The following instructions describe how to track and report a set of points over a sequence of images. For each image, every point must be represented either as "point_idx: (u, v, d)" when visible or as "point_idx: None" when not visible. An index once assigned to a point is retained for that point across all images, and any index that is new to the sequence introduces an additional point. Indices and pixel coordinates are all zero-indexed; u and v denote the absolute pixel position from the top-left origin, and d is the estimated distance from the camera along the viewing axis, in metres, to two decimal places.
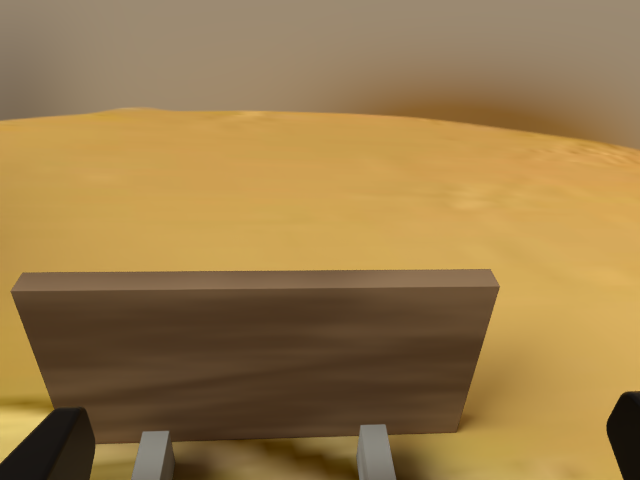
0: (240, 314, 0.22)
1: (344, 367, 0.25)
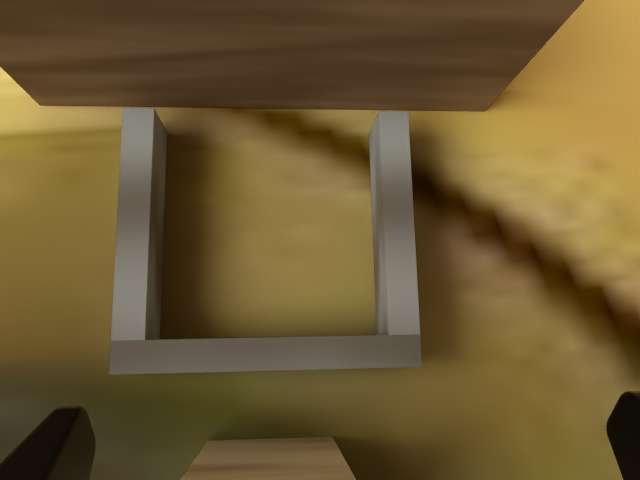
0: None
1: (368, 48, 0.19)
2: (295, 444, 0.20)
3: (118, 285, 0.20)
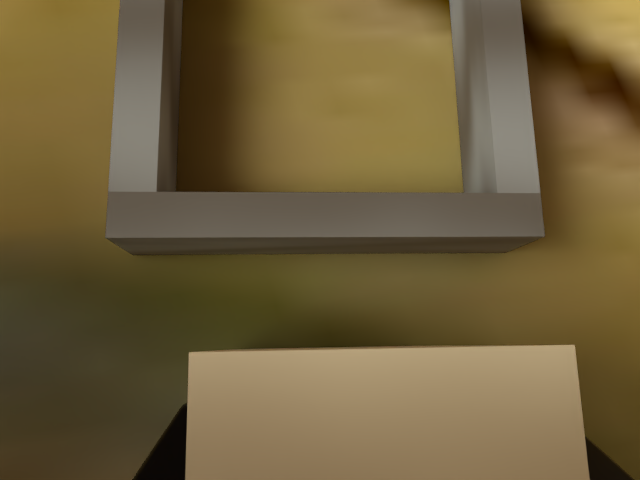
0: None
1: None
2: None
3: (119, 118, 0.14)
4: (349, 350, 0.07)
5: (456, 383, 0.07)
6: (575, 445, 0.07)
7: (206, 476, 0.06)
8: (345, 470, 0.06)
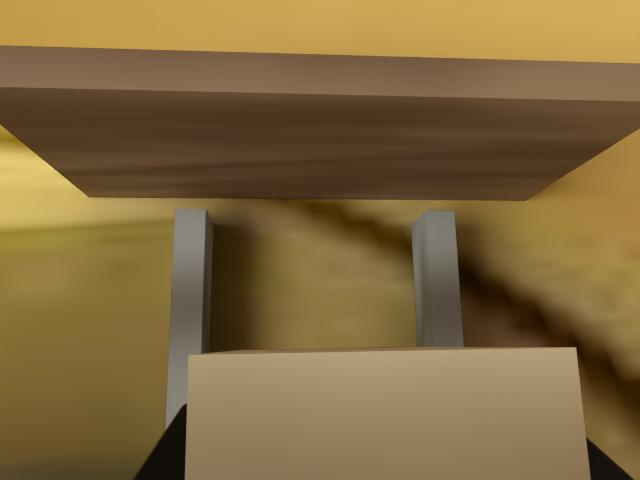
0: (297, 116, 0.16)
1: (421, 159, 0.19)
2: None
3: (171, 390, 0.20)
4: (349, 353, 0.07)
5: (457, 386, 0.07)
6: (577, 448, 0.07)
7: (206, 479, 0.06)
8: (346, 474, 0.06)
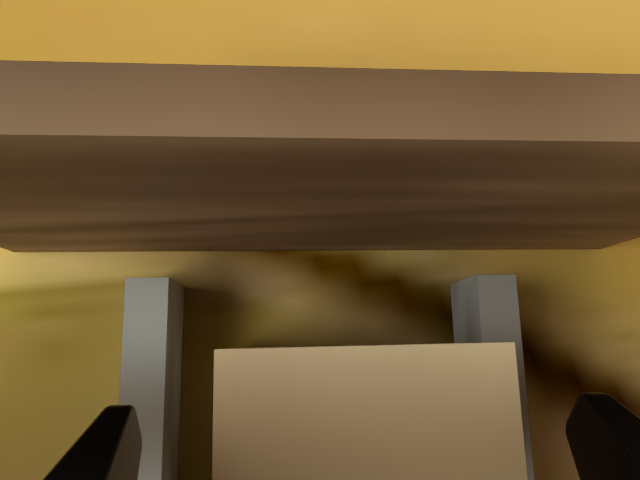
0: (298, 167, 0.10)
1: (479, 213, 0.13)
2: None
3: None
4: (338, 347, 0.09)
5: (421, 372, 0.09)
6: (514, 420, 0.09)
7: (228, 444, 0.08)
8: (335, 440, 0.08)
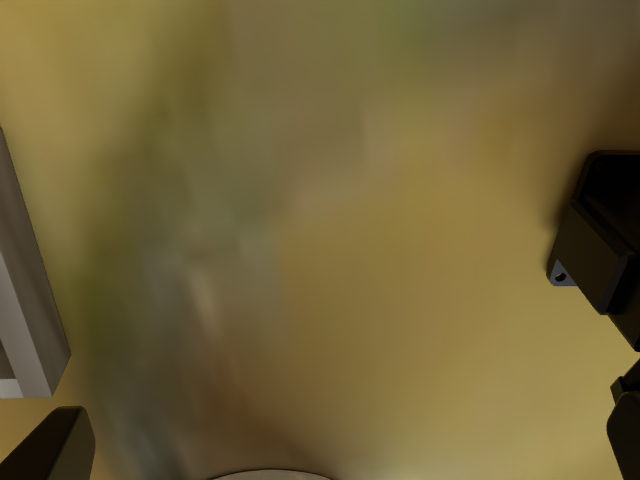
0: None
1: None
2: None
3: None
4: None
5: None
6: None
7: None
8: None
